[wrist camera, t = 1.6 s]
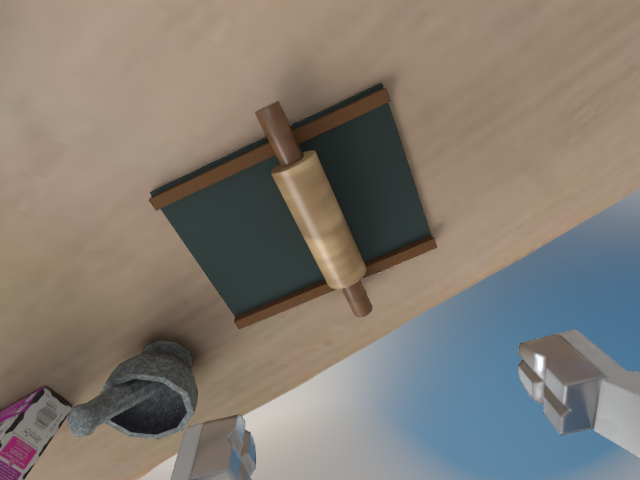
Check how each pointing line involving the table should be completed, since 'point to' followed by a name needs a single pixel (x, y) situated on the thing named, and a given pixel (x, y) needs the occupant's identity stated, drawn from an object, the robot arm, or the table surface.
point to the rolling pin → (315, 210)
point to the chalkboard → (276, 219)
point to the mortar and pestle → (143, 395)
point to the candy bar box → (28, 431)
